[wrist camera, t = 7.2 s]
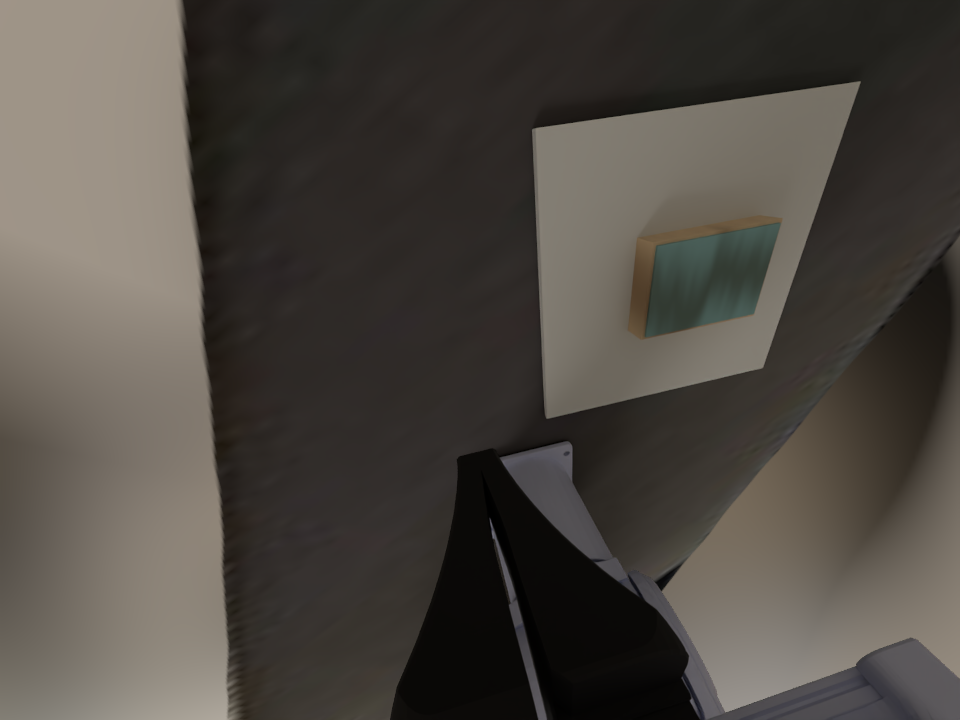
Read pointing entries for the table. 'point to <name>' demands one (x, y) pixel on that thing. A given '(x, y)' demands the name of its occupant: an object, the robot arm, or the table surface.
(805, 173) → the rubber mat
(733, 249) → the wood tile
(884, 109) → the table surface
